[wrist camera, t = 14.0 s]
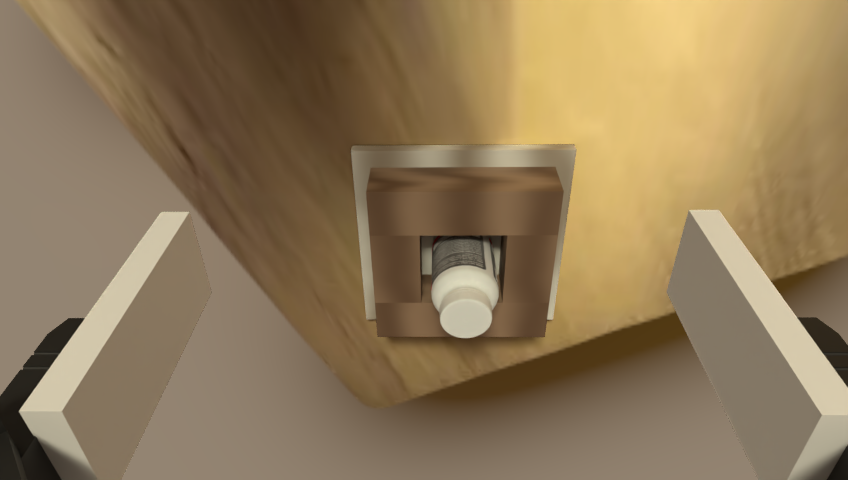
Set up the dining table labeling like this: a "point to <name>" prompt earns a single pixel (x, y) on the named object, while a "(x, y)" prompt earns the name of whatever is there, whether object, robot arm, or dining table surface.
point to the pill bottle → (464, 283)
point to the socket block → (461, 228)
